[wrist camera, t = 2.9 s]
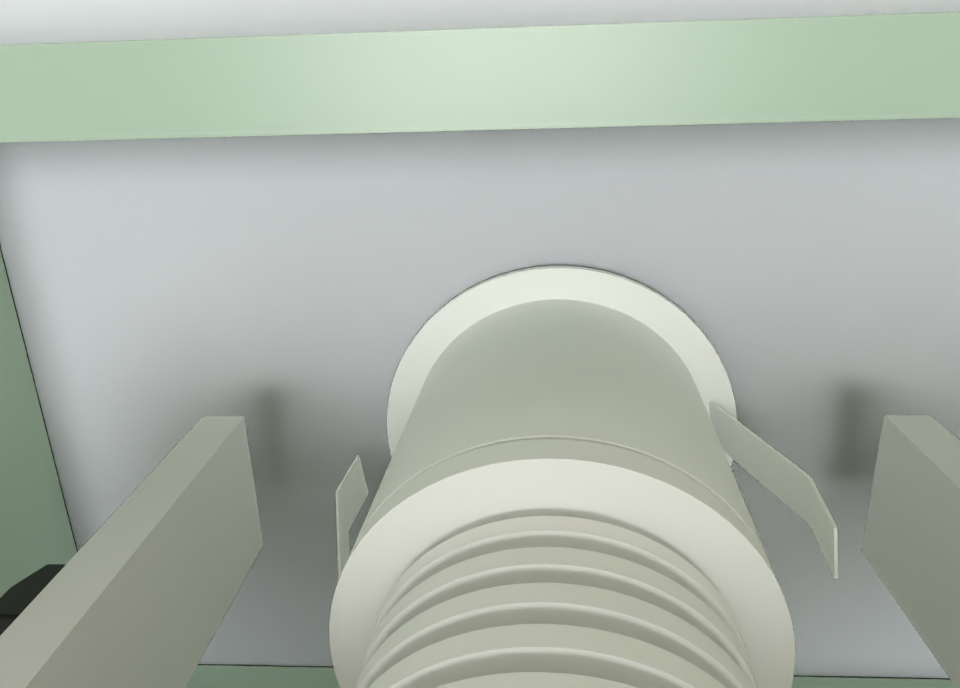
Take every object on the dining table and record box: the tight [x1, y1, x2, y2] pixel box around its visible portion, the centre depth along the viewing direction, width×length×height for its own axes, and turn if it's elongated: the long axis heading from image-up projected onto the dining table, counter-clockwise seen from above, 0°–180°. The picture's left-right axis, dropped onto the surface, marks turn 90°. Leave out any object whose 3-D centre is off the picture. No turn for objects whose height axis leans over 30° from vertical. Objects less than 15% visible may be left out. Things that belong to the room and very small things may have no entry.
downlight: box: [329, 266, 838, 688], centre depth 11 cm, size 8×7×10 cm
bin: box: [0, 12, 960, 688], centre depth 14 cm, size 24×15×4 cm, turn 92°
